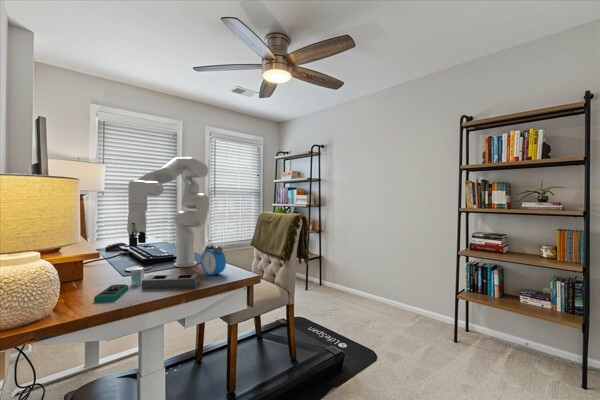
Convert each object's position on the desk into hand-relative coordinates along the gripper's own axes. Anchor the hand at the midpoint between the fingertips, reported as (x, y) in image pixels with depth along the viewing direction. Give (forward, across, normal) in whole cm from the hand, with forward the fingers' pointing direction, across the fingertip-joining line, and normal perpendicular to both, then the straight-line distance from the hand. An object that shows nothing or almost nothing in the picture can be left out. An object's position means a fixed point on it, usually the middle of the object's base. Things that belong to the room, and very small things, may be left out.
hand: (137, 244), depth 132 cm
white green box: (+18, 0, 0) cm, 18 cm away
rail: (+18, +5, +16) cm, 25 cm away
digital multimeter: (+19, +15, -4) cm, 24 cm away
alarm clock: (+18, -12, +32) cm, 39 cm away
